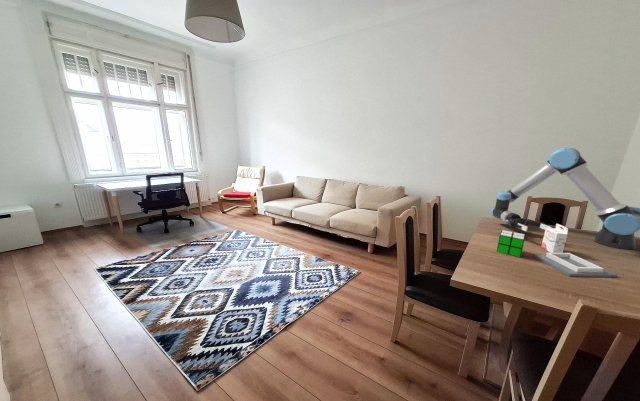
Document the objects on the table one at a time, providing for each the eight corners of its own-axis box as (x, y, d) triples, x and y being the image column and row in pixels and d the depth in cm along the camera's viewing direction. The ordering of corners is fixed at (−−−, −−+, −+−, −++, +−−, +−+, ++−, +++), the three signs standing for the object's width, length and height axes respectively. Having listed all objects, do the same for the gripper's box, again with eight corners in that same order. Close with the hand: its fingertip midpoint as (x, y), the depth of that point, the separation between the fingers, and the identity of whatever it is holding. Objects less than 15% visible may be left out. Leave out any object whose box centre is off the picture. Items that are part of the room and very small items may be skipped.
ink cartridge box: (540, 246, 130) (546, 222, 126) (550, 247, 129) (556, 223, 125) (551, 253, 122) (558, 227, 118) (562, 254, 121) (570, 228, 117)
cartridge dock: (573, 257, 117) (575, 251, 116) (616, 277, 100) (618, 270, 99) (533, 256, 118) (535, 251, 117) (569, 276, 101) (570, 269, 100)
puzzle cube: (521, 251, 125) (525, 234, 122) (520, 257, 117) (524, 239, 115) (498, 246, 131) (501, 229, 129) (496, 251, 124) (499, 234, 122)
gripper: (528, 223, 154) (559, 235, 133) (490, 223, 155) (515, 235, 134) (531, 212, 152) (562, 223, 131) (492, 212, 153) (518, 223, 132)
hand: (538, 229), depth 133 cm, fingers open, 13 cm apart
